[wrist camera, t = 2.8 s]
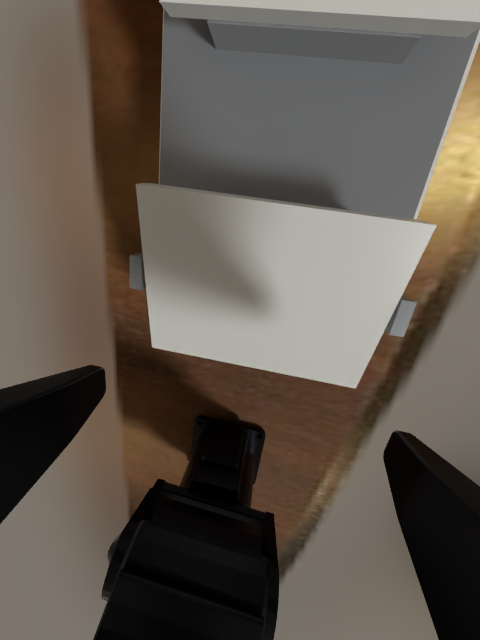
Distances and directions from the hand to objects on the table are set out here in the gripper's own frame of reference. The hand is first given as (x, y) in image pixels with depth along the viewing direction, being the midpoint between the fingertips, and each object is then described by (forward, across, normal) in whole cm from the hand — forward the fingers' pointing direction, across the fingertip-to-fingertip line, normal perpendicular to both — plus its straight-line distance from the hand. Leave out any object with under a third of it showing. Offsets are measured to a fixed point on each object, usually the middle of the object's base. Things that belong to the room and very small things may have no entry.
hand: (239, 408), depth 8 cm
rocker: (+6, 0, -2) cm, 6 cm away
